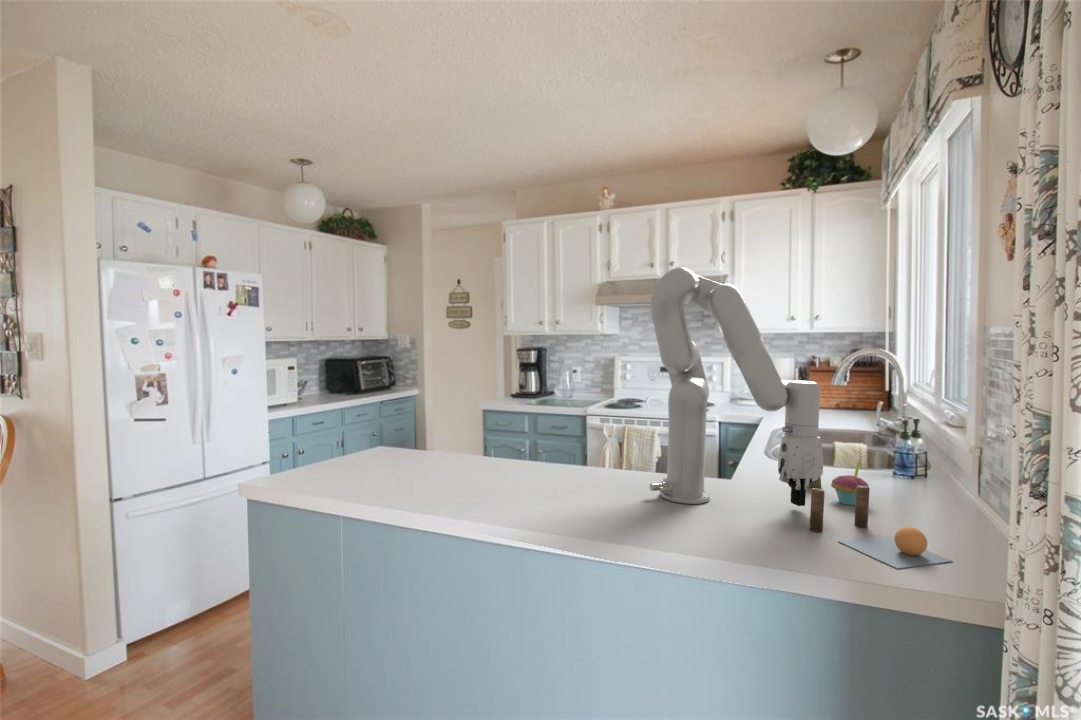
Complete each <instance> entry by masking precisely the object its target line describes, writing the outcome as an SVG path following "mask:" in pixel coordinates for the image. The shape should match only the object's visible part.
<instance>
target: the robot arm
mask: <svg viewBox="0 0 1081 720" xmlns="http://www.w3.org/2000/svg"><path fill="white" fill-rule="evenodd" d="M685 305H686V306H690V307H691V308H695V309H696V310H700V311H702V312H705V313H708V314H711V316H712V319H713V320H714V322H715V324H716V326H717V328H718V329H719V330H718V331H719V332H720V334H721V336H722V338H723V340H724V343H725V345H726V347H727V348H728V351H729V353H730V355H731V357H732V359H733V360H734V361H735V363H736V365H737V367H738V368H739V370H740V373H741V375H742V376H743V379H744V382H745V383H746V385H747V387H748V389H749V392H750V393H751V395H752V397H753V400H754V402H755V404H756V405H757V406H758V407H759V408H760V409H761V410H764V411H767V412H776V411H779V410H781V409H782V408H783V407H784V408H785V413H784V415H785V416H784V417H785V418H784V420H785V421H784V426H782V428H781V431H782V433H784V435H782V437H781V440H780V441H781V442H780V446H779V452H778V461H777V471H778V474H779V478H778V480H779V481H780V482H783V483H786V484H787V485H788V487H789V488H790V503H791V504H793V505H796V506H797V507H801V506H802V507H805V506H806V493H807V492H806V491H807V490H809V489H810V488H809V484H810V483H811V482H812V481H815V480H818V477H822V476H823V473H824V452H823V444H822V439H821V436H819V421H820V405H821V404H820V401H821V386H820V384H819V383H818V382H816V381H811V380H799V379H798V380H787V379H785V380H784V379H782V378H781V377H780V374H779V373H778V370H777V368H776V366H775V364H774V363H773V360H772V358H771V356H770V354H769V351H768V350H767V347H766V344H765V341H764V337H763V336H762V334H761V331H760V330H759V328H758V326H757V324H756V322H755V320H754V318H753V316H752V314H751V311H750V309H749V308H748V306H747V303H746V302H745V299H744V297H743V295H742V293H741V292H740V290H739V289H738V288H737V286H736V285H733V284H730V283H719V282H717V281H714V280H711V279H709V278H706V277H703V276H701V275H699V274H696V273H694V272H693V271H692V270H691V269H689V268H687V267H683V266H682V267H681V266H680V267H675V268H672V269H669V271H667V272H666V273H665V274H664V275H663V276H662V277H661V278H659V280H658V281H657V282H656V284H655V286H654V288H653V290H652V293H651V296H650V314H651V319H652V323H653V328H654V332H655V337H656V340H657V344H658V345H657V346H658V349H659V350H658V351H659V355H660V361H661V363H662V365H663V366H664V368H665V369H666V370H667V372H668V377H669V380H670V381H669V382H670V384H671V388H670V390H669V393H668V399H667V400H668V402H667V403H668V405H667V406H668V407H667V408H668V410H667V411H668V432H667V437H668V438H667V441H668V442H667V468H666V469H667V470H666V478H665V477H664V478H662V481H660V483H659V482H658V483H657V482H654V483H650V484H649V490H650V492H654V491H655V492H657V491H658V492H659V493H660V494H659V495H660V497H662V498H663V499H665V500H667V501H670V502H674V503H679V504H686V505H687V504H688V505H697V504H699V505H700V504H704V503H706V502H709V501H710V499H711V498H710V497H711V495H710V493H709V492H707V491H706V490H705V469H706V468H705V467H706V445H707V444H706V439H707V437H706V436H707V409H708V408H707V407H708V400H709V396H710V393H709V392H710V389H709V385H708V382H707V377H706V373H705V369H704V366H703V362H702V361H703V360H702V356H701V354H700V350H699V348H698V346H697V343H695V342H694V341H693V340H692V337H691V334H690V328H689V326H688V321H687V316H686V313H685V312H686V311H685Z"/></svg>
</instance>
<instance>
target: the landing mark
mask: <svg viewBox="0 0 1081 720" xmlns="http://www.w3.org/2000/svg"><path fill="white" fill-rule="evenodd" d="M838 543H839V544H841V545H844V546H846V547H849V548H850V549H852V550H855V551H857V552H859V553H861V554H863V555H865V556H868V557H870V558H872V559H873V560H877V562H878V561H879V562H881V563H882V564H884V565H888V566H889V567H892V568H893V569H896V570H902V569H909V568H915V567H926V566H932V565H940V564H946V563H947V562H948V563H953V562H954V560H952V559H950V558H948V557H944V556H942V555H939V554H937V553H934V552H932V551H930V550H927V549H926V550H925V551H924V552H923V553H922V554H920V555H916V556H912V555H907V554H905V553H903V552H902V551H900V550H899V549H898V547H897V546H896V544H895V536H893V535H882V536H873V537H863V538H854V539H846V540H838Z"/></svg>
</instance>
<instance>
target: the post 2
mask: <svg viewBox="0 0 1081 720" xmlns="http://www.w3.org/2000/svg"><path fill="white" fill-rule="evenodd" d="M870 489H871V488H870V486H868V487H867V486H857V487H856V505H854V506H855V508H854V527H857V526H858V528H861V527H863V529H867V528H868V527H869V526H868V521H869V507H870V506H869V504H870ZM866 527H867V528H866Z"/></svg>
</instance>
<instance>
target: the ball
mask: <svg viewBox="0 0 1081 720" xmlns="http://www.w3.org/2000/svg"><path fill="white" fill-rule="evenodd" d="M894 537H895V544H896V546H897V547H898V549H899V550H900V551H902V552H903V553H905V554H907V555H912V556H916V555H920V554H922V553H923V552H924V551H925V550H927V548H928V540H927V537H926V535H925V534H924V532H922V531H921V530H920V529H918V528H916V527H914V526H904V527H902V528H900V529H898V530H897V531H896V532H895V535H894Z"/></svg>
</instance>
